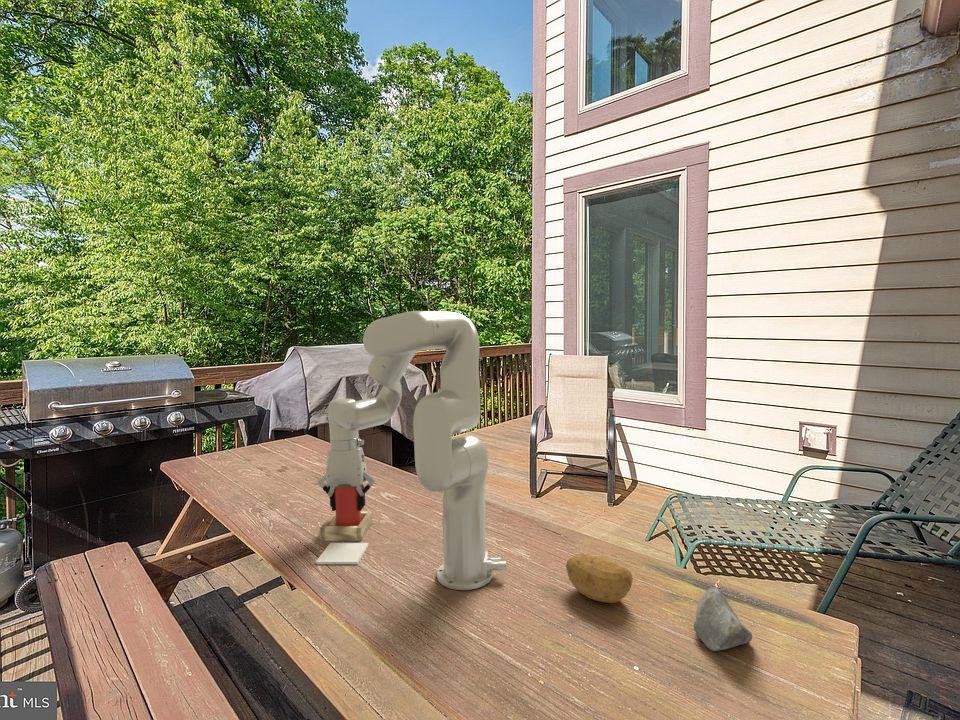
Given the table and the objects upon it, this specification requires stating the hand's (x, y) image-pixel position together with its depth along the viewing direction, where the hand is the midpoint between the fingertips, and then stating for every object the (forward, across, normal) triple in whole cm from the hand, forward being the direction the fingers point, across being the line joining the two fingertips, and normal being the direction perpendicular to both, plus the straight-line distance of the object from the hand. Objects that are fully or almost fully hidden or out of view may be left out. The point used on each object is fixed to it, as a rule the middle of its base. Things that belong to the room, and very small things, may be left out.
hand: (348, 508), depth 132 cm
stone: (+9, -80, +44) cm, 91 cm away
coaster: (+7, -2, +13) cm, 15 cm away
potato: (+8, -61, +31) cm, 69 cm away
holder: (+7, +1, 0) cm, 7 cm away
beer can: (+5, 0, 0) cm, 5 cm away
